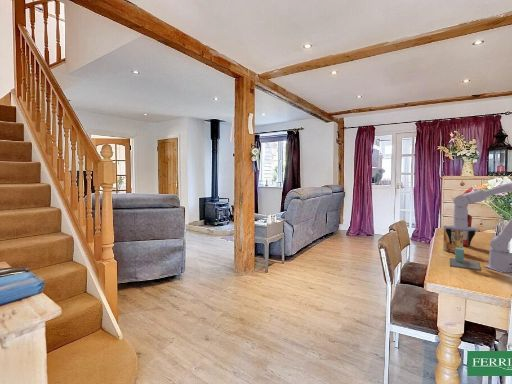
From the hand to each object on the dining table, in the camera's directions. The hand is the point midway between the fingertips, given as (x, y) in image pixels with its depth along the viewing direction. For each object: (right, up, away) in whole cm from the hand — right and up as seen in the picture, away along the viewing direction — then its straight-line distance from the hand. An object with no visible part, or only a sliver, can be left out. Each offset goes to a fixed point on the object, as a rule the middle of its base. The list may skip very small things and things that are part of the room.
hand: (459, 244), depth 147 cm
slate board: (0, -10, -3) cm, 10 cm away
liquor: (+26, -7, +33) cm, 43 cm away
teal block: (0, -9, +1) cm, 9 cm away
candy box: (+10, -8, +20) cm, 24 cm away
